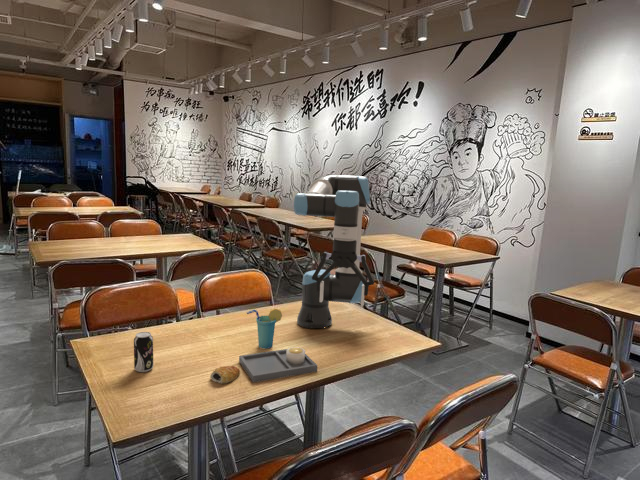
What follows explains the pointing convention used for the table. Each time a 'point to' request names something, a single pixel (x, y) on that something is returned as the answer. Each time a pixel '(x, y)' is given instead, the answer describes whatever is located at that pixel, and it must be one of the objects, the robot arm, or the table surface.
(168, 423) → the table surface
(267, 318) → the cup
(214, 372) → the pastry
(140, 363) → the beverage can
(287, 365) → the serving board
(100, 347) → the table surface
